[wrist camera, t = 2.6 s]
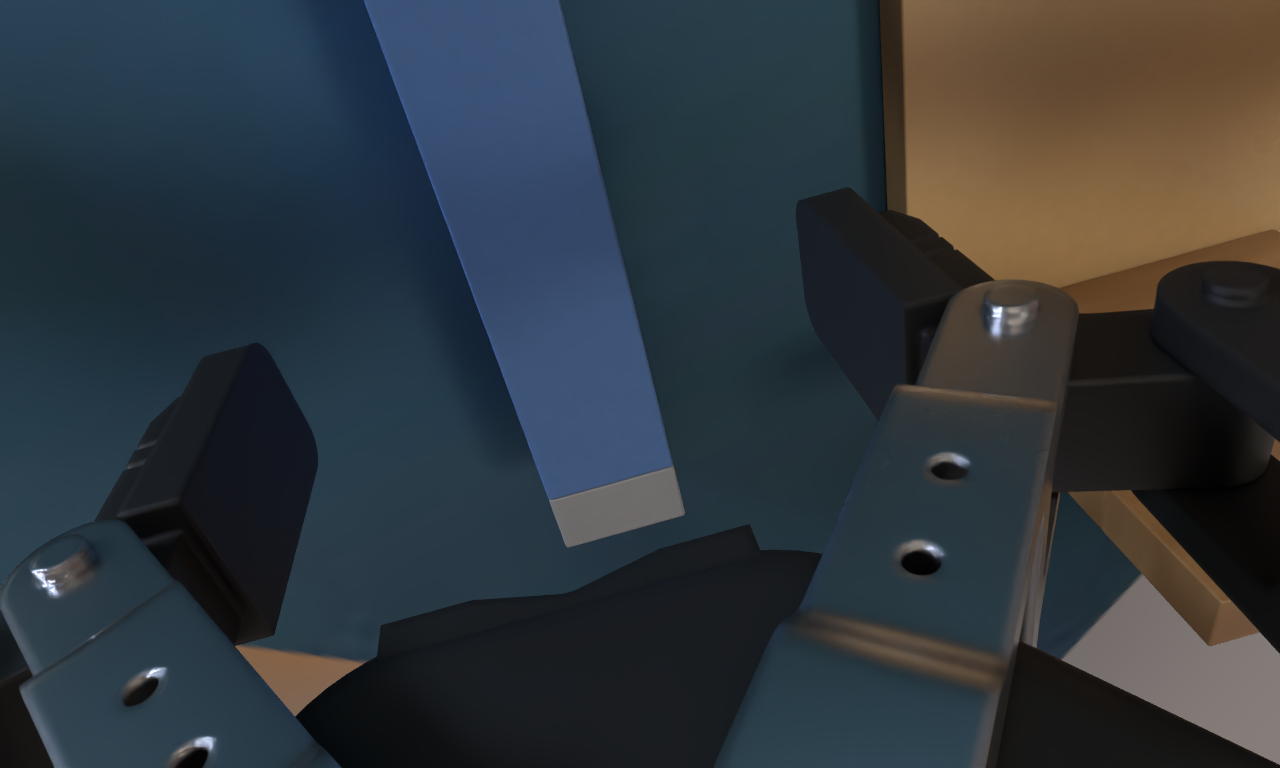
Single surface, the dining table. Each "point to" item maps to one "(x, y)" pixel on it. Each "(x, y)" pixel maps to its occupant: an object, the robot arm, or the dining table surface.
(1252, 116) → the holder
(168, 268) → the dining table surface
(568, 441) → the handle
